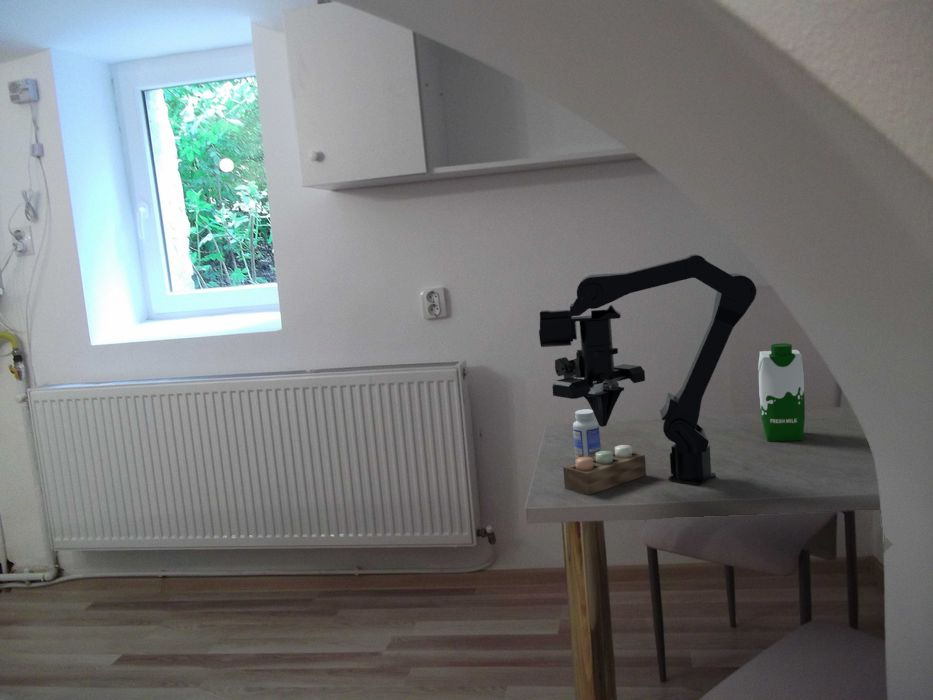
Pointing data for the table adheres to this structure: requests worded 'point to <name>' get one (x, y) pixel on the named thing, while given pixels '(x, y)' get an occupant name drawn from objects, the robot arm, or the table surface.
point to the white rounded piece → (623, 451)
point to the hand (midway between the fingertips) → (602, 426)
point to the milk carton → (782, 393)
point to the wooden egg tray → (604, 474)
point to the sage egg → (604, 457)
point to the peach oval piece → (584, 464)
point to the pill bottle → (586, 434)
